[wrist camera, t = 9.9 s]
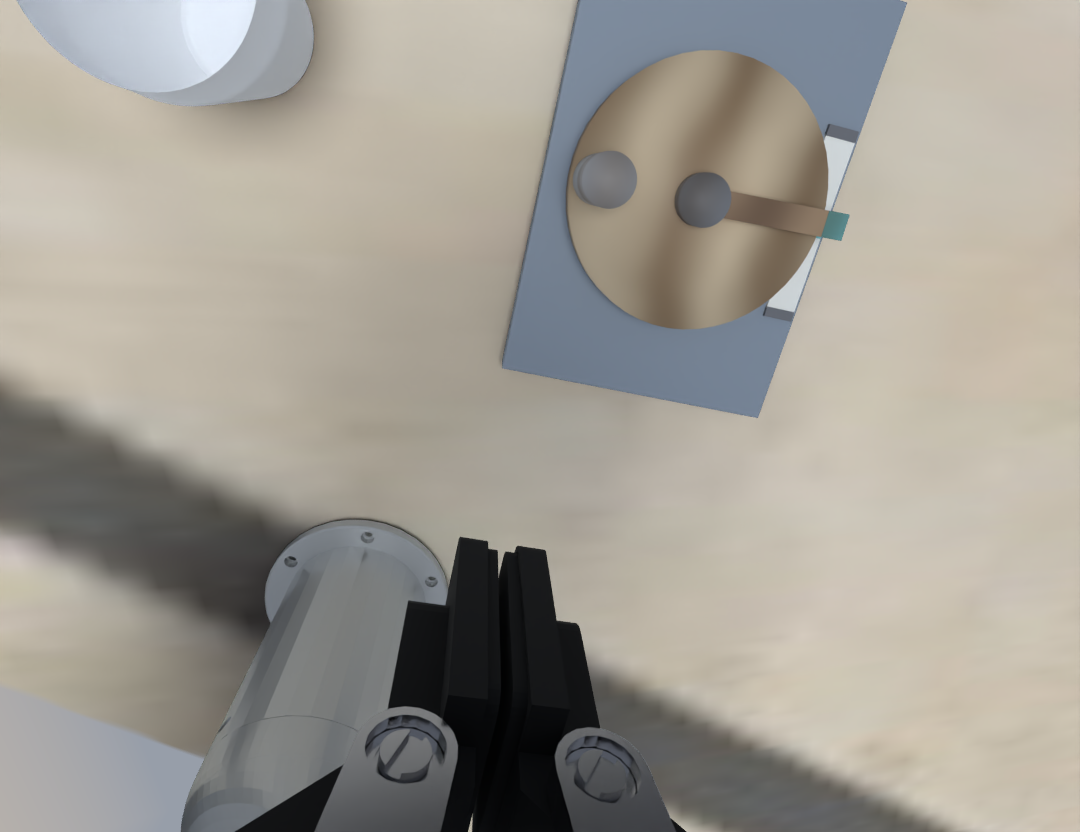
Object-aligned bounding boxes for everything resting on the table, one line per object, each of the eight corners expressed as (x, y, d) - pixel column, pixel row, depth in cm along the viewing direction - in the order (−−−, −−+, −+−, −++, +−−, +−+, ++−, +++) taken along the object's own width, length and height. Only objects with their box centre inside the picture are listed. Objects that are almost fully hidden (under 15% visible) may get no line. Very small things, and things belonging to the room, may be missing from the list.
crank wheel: (867, 89, 35) (932, 75, 30) (787, 343, 40) (831, 368, 35) (594, 27, 33) (614, 0, 28) (544, 302, 38) (553, 322, 33)
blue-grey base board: (748, 410, 43) (759, 419, 41) (501, 361, 41) (502, 369, 39) (890, 9, 35) (910, 1, 34) (595, -81, 33) (600, -95, 31)
